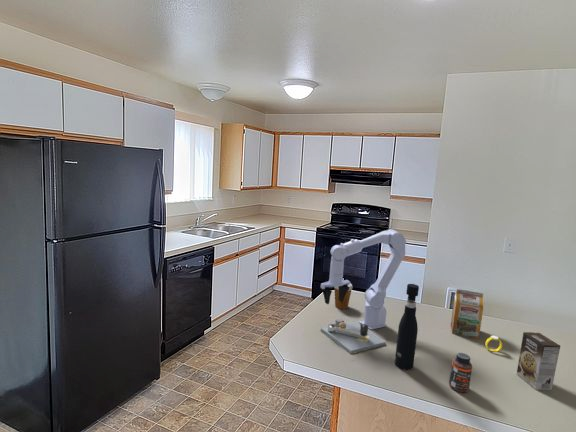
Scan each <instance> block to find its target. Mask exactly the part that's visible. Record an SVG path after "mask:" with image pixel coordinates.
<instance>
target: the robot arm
mask: <svg viewBox="0 0 576 432" xmlns="http://www.w3.org/2000/svg"><path fill="white" fill-rule="evenodd" d="M377 244H385V245H388V246H389V249H390V251H391V254H390V255H389V257H388V259H387V261H386V263H385V264H384V265H383V268H382V270H381V271H380V273H379V276H378V277H377V279H376V281H375V282H374V283H372V284H371V285H370V287H369V288H368V289H366V291H365V293H364V298H365V300H366V301H365V304H364V314H363V320H359V323H358V324H360V325H361V324H366V325H368V330H376V329H379V328H384V327H387V324H386V321H387V319H386V318H387V308H386V306H385V305H384V304H385V298H386V296H387V289H388V287H389V285H390V283H391V281H392V279H393V278H394V276H395V274H396V272H397V271H398V269H399V268H400V266H401V263H402V261H403V259H405V256H406V244H407V240H406V238H405V236H404V234H402V233H401V232H398V231H396V229H393V228H390V229H386V230H382V231H380V232H378V233H376V234H373V235H371V236H369V237H366V238H363V239H361V240H359V239H356V238H355V239H354V238H352V239H350V241H346V242H344V243H343V242H340V244H335V245H333V246H332V247H331V249H330V250H329V251H330V255H331V258H330V267H329V279H328V281H325V282H322V283H320V290H321V291H322V295H323V297H324V303H325V304H326V305H330V300H331V295H332V293H333V290H331V289H330V288H334V287H337V286H338V287H339V301H341V302H343V300H344V297H345V295H346V293H347V291H348V290H349V287H348V286H349V285H350V283H351V281H350V280H348V279H345V280H344V279H343V277H344V267H345V266H344V265H345V263H344V262H345V259H346V257H350V256H352V255H355V254H357V253H361V252H362V250H363V248H367V247H371V246H373V245H377Z"/></svg>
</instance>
